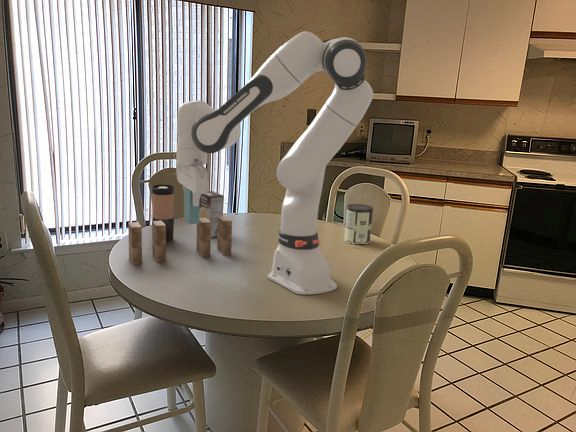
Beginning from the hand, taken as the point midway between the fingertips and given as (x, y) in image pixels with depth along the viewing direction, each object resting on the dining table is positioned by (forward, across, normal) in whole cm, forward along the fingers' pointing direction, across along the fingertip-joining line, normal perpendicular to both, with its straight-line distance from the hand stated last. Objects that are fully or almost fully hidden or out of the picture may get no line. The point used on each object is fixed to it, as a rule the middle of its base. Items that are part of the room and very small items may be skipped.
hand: (191, 202), depth 143 cm
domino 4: (+21, +13, -16) cm, 29 cm away
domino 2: (+6, 0, 0) cm, 6 cm away
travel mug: (+22, +33, +1) cm, 39 cm away
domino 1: (+21, +13, +7) cm, 26 cm away
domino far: (+21, +13, +14) cm, 29 cm away
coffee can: (+21, +9, -70) cm, 74 cm away
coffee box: (+22, +36, -18) cm, 46 cm away
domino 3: (+21, +13, -8) cm, 26 cm away
